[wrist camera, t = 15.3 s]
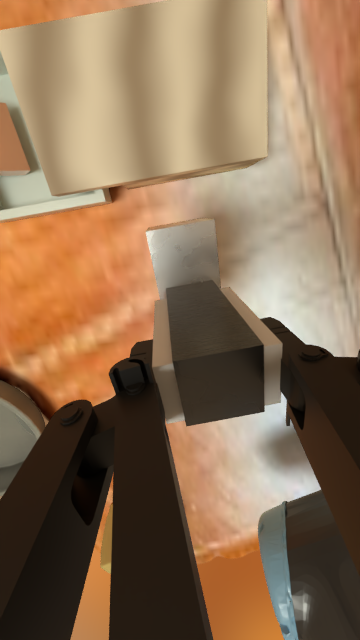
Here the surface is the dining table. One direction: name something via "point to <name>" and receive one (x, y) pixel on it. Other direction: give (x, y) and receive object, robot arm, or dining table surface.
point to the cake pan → (16, 431)
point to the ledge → (143, 92)
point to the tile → (10, 147)
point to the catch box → (34, 173)
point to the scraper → (205, 326)
